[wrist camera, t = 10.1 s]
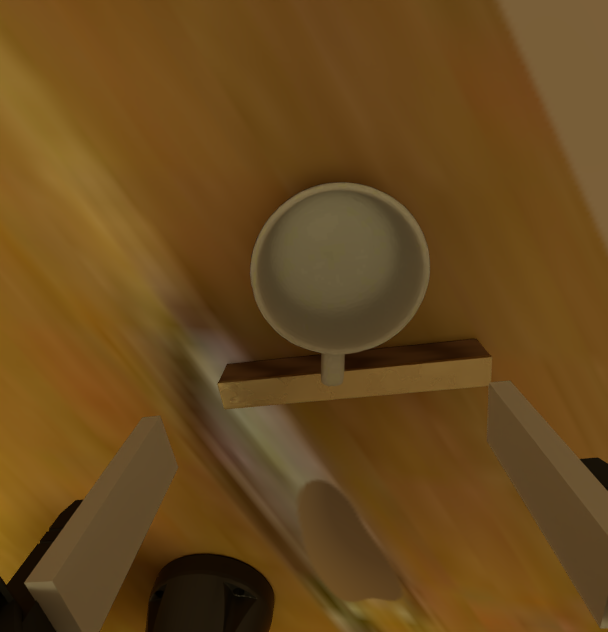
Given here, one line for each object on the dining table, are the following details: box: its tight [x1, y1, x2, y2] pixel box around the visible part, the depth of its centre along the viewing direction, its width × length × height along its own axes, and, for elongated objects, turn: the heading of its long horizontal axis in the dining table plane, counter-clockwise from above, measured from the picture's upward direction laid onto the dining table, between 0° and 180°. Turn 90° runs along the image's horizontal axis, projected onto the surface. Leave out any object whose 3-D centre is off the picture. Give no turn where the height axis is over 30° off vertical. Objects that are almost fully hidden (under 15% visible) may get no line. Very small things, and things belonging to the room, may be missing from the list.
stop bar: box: [217, 339, 492, 409], centre depth 32 cm, size 22×3×3 cm, turn 98°
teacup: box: [250, 182, 430, 386], centre depth 27 cm, size 14×11×8 cm
